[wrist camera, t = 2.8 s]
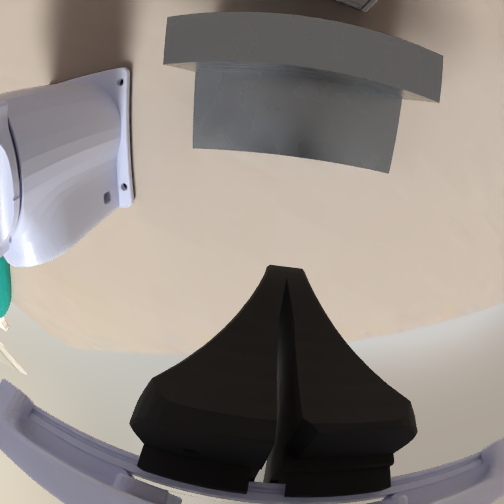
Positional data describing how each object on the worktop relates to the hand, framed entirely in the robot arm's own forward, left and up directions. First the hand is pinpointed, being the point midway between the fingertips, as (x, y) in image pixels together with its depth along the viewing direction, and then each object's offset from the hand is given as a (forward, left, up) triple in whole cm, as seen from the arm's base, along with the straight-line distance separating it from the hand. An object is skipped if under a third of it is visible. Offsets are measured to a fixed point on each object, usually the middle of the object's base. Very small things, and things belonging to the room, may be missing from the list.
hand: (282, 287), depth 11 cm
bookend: (+7, 0, -7) cm, 10 cm away
